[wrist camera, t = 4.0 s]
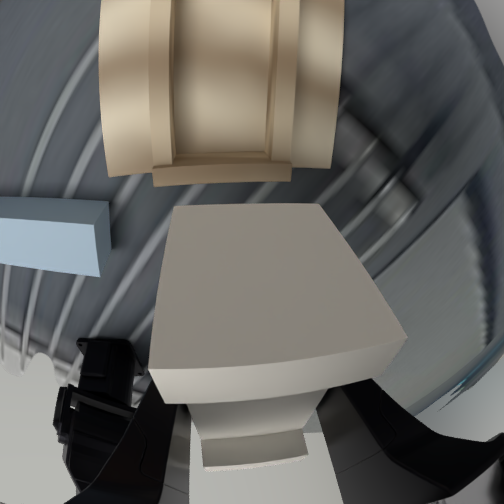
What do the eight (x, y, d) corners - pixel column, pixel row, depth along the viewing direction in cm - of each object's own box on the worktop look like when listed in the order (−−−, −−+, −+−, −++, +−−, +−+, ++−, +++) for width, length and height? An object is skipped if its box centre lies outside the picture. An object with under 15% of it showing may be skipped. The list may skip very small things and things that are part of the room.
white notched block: (280, 372, 13) (302, 460, 9) (199, 378, 12) (206, 471, 9) (318, 203, 8) (407, 337, 4) (174, 206, 7) (148, 368, 3)
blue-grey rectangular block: (112, 247, 19) (100, 276, 17) (-1, 235, 17) (-21, 259, 14) (109, 199, 17) (93, 225, 14) (-10, 194, 14) (-33, 215, 12)
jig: (324, 163, 18) (346, 182, 15) (113, 171, 16) (95, 193, 13) (337, -2, 11) (364, -14, 8) (107, -3, 9) (86, -17, 6)
